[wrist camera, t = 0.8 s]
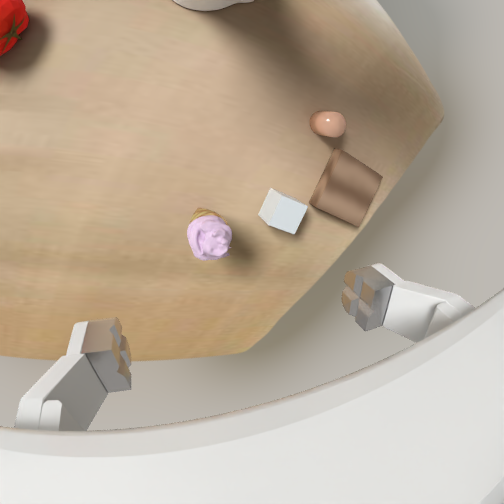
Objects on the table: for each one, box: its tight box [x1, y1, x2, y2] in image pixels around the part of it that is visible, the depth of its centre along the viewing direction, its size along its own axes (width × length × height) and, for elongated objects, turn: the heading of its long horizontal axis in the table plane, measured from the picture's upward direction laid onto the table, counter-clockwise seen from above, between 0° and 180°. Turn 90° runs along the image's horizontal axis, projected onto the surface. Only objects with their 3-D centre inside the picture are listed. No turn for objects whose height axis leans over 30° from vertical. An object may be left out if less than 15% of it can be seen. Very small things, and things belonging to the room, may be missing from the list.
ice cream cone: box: [187, 208, 232, 260], centre depth 43 cm, size 7×6×15 cm
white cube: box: [258, 188, 308, 234], centre depth 51 cm, size 6×6×6 cm
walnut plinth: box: [309, 148, 383, 227], centre depth 55 cm, size 12×12×3 cm
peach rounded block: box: [310, 111, 346, 137], centre depth 47 cm, size 5×5×5 cm
